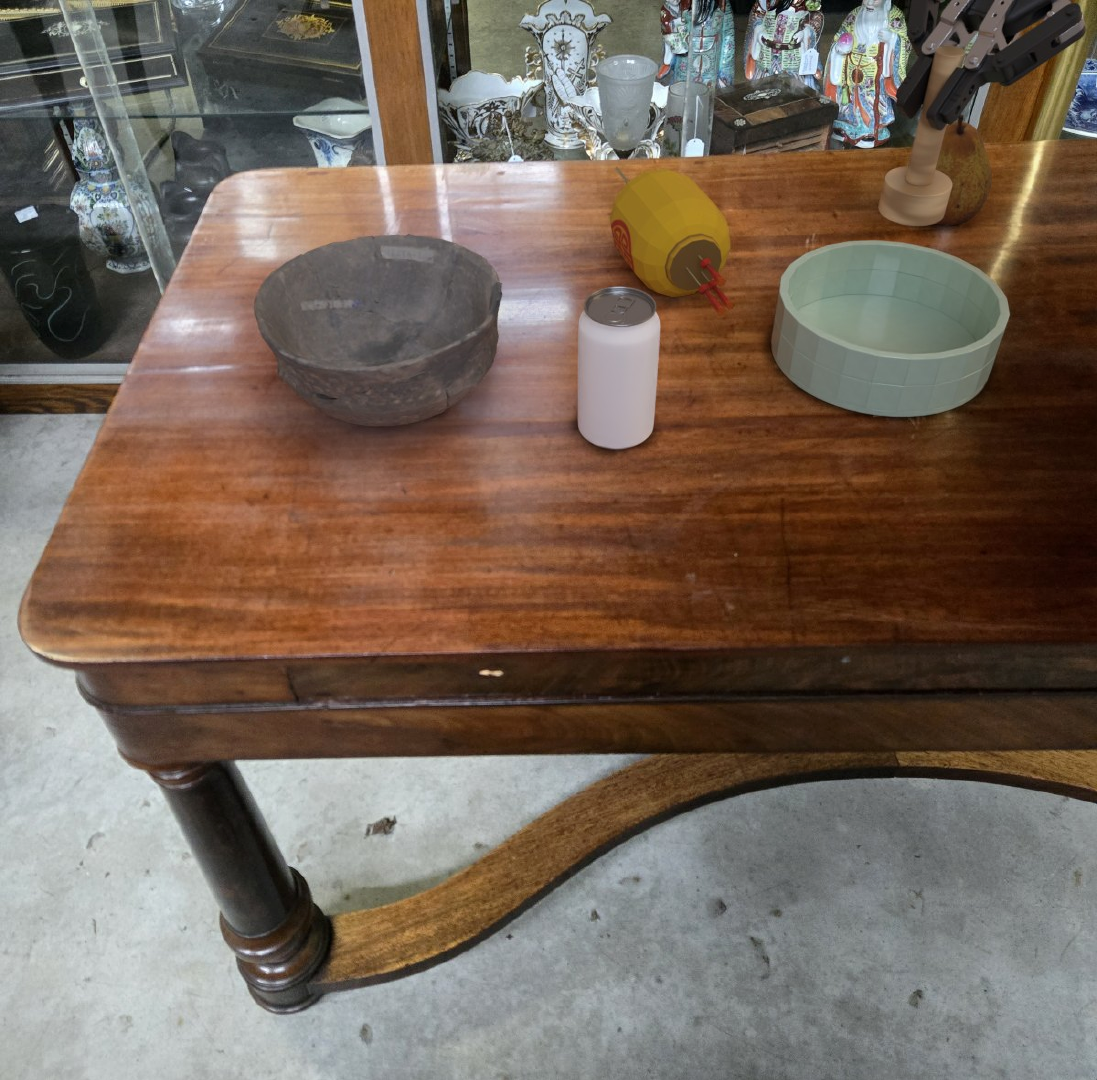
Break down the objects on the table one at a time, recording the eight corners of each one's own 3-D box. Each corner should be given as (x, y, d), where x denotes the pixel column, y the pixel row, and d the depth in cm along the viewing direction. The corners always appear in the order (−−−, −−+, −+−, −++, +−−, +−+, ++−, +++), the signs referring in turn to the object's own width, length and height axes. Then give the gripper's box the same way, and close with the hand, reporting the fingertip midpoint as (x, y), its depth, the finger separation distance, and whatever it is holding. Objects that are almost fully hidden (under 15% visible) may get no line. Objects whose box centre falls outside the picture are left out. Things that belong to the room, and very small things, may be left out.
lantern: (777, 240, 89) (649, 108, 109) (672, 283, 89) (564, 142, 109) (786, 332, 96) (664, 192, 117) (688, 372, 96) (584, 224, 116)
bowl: (226, 406, 91) (198, 307, 84) (388, 304, 103) (375, 210, 96) (398, 499, 82) (382, 397, 75) (555, 376, 94) (553, 278, 87)
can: (566, 441, 87) (565, 318, 79) (592, 398, 91) (595, 277, 83) (639, 459, 85) (646, 335, 77) (663, 414, 90) (672, 292, 81)
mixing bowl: (1008, 325, 99) (1027, 268, 94) (964, 441, 86) (985, 382, 82) (807, 278, 105) (817, 223, 101) (741, 380, 93) (749, 322, 89)
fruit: (942, 190, 119) (971, 82, 110) (997, 224, 113) (1031, 113, 104) (880, 205, 116) (904, 96, 108) (933, 241, 110) (962, 129, 102)
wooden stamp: (950, 203, 82) (994, 43, 73) (936, 231, 78) (980, 68, 70) (887, 190, 83) (922, 33, 75) (870, 218, 80) (906, 57, 72)
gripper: (972, -166, 72) (824, 61, 75) (1163, -130, 64) (989, 122, 67) (995, -93, 78) (858, 114, 81) (1172, -52, 70) (1012, 175, 74)
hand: (918, 117), depth 74 cm, fingers closed on wooden stamp
